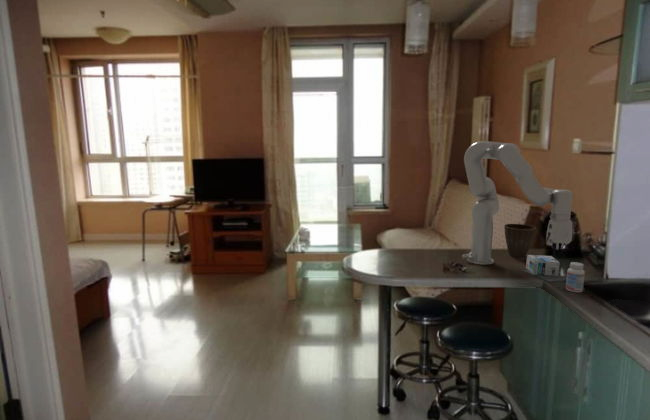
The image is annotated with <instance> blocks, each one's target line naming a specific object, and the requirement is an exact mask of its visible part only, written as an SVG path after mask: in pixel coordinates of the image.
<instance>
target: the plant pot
mask: <svg viewBox="0 0 650 420" xmlns="http://www.w3.org/2000/svg"><path fill="white" fill-rule="evenodd" d="M503 227H504V228H503V229H504V237H505V243H506V247H507V251H508V252H507V253H508V254H509V256H510V257H512V258H517V259H518V258H519V259H523V258H525V257H527V255H528V252H529V250H530V247H531V245H532V242H533V240H534V236H535V234H536V229H537V228H536V226H533V225H529V224H522V223H507V224H504V226H503Z"/></svg>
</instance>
